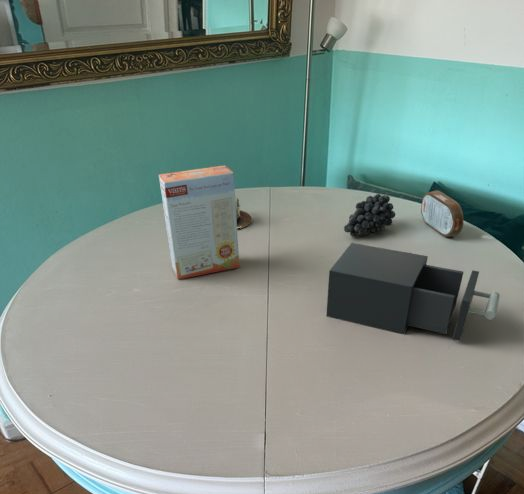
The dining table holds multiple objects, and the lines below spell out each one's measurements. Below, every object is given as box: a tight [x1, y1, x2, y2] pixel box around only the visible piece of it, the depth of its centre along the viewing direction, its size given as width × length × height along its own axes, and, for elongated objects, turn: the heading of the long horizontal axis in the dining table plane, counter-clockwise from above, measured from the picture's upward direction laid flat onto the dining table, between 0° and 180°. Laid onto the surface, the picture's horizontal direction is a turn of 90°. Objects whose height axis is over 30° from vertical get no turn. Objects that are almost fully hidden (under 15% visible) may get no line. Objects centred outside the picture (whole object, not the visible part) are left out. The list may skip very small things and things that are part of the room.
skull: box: [235, 195, 253, 229], centre depth 133 cm, size 12×10×10 cm
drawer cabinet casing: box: [326, 242, 429, 335], centre depth 96 cm, size 15×13×10 cm
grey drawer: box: [406, 264, 501, 342], centre depth 92 cm, size 18×11×8 cm, turn 64°
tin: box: [420, 189, 464, 238], centre depth 125 cm, size 15×3×8 cm, turn 16°
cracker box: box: [158, 164, 240, 280], centre depth 107 cm, size 14×6×21 cm, turn 110°
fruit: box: [343, 193, 396, 238], centre depth 125 cm, size 9×8×15 cm
